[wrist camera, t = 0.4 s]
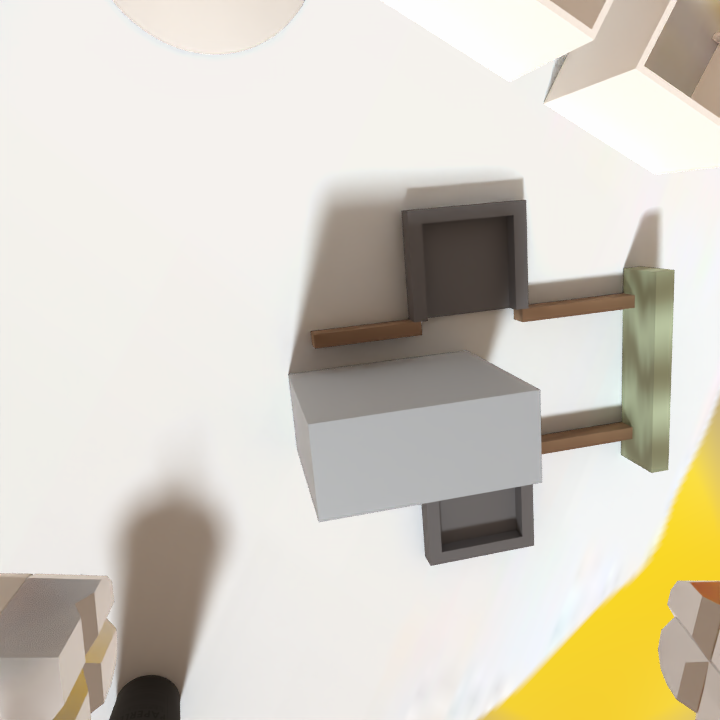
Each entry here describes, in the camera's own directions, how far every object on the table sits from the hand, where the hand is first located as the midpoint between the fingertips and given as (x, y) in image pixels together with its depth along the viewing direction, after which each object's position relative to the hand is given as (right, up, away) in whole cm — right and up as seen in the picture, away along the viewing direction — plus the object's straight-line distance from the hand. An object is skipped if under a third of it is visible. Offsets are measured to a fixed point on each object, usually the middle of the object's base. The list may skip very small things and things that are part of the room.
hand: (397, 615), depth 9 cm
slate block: (+1, +1, +39) cm, 39 cm away
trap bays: (+8, +2, +40) cm, 41 cm away
